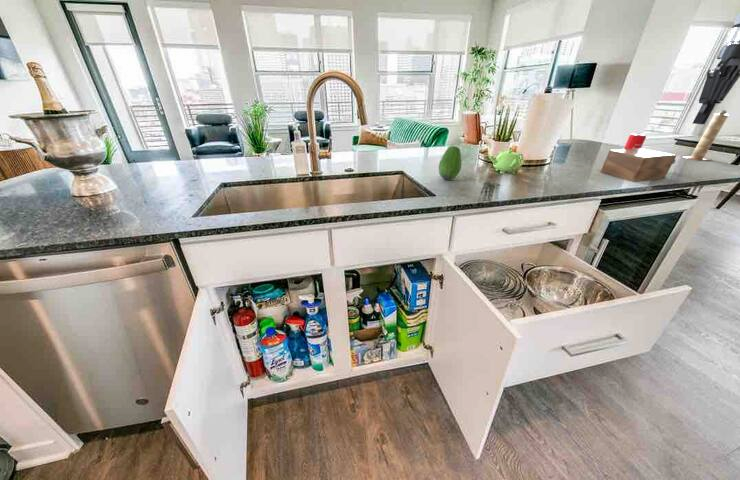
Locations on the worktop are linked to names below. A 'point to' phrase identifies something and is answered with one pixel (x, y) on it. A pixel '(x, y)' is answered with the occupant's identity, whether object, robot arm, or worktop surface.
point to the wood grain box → (637, 164)
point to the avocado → (450, 163)
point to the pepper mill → (709, 135)
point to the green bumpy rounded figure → (507, 161)
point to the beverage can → (635, 141)
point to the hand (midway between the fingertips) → (698, 123)
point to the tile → (696, 159)
